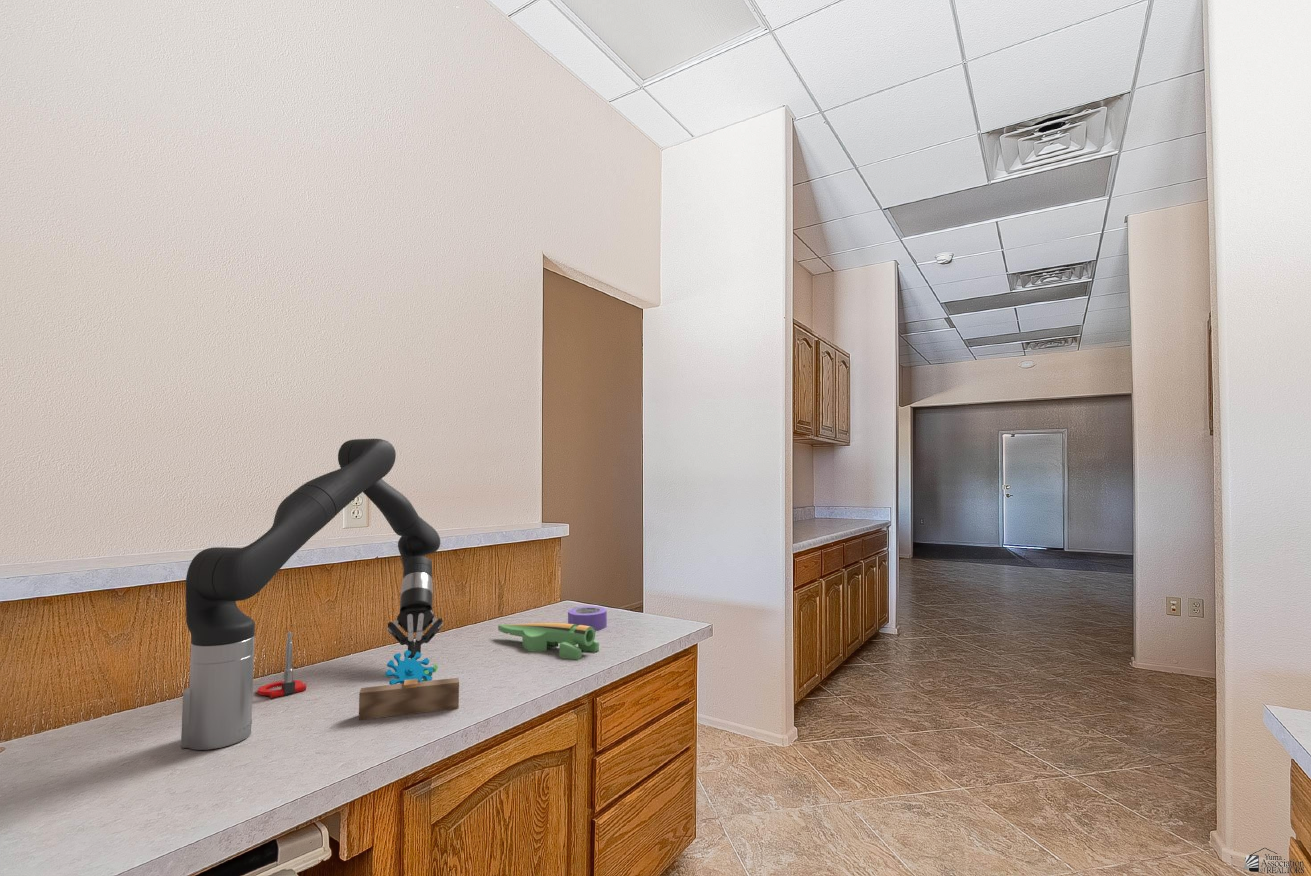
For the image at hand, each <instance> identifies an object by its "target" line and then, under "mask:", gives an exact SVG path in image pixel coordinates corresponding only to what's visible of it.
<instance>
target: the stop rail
mask: <svg viewBox="0 0 1311 876" xmlns="http://www.w3.org/2000/svg"><path fill="white" fill-rule="evenodd" d="M358 697H359V698H358V700H359V701H358V721H364V720H370V719H379V718H387V717H396V716H397V717H398V716H403V715H411V714H413V715H414V714H420V713H428V712H437V711H446V710H447V711H448V710H455V709H460V707H459V706H460V703H459V702H460V699H459V698H460V679H459V677H452V678H443V679H435V680H434V679H432V680H431V681H422V682H418V679H410V680H405V681H404V683H403V684H400V683H397V684H394V685H390V684H386V685H377V686H367V687H365V686H364V687H361V688H360V690H359V696H358Z"/></svg>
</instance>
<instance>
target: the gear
mask: <svg viewBox="0 0 1311 876" xmlns="http://www.w3.org/2000/svg"><path fill="white" fill-rule="evenodd" d="M410 654H411V651H408V649H407V650H404V653H403V656H404V659H403V660H401V657H402V654H401V653H400V652H398V653H395V654H394V655H393V659H394V660H395V661H396V663H397V665H395V661H394V660H393V659H390V660H389V661H388V662H387V664H386V667H388V669H387V670H386V672H385V674H384V675H385V677H387V678H390V677H394V678H390V680H389V681H388V683H389V684H388V685H394V684H403V683H404V681H405V680H410V679H418V682H422V681H432V680H434V679H433V673H436V672H437V670H438V668H439V667H438V665H437V664H434V665H433V666H429V667H427V666H428V665H429V663H430V659H429V658H428V657H424V659H422V660H419V659H421V657H422V653H419V652H416V654H415V656H414V657H413V658H412V659H411V658H408V657H409V656H410ZM415 659H417V660H415ZM423 665H424V666H423ZM389 668H391V669H389Z"/></svg>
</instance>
